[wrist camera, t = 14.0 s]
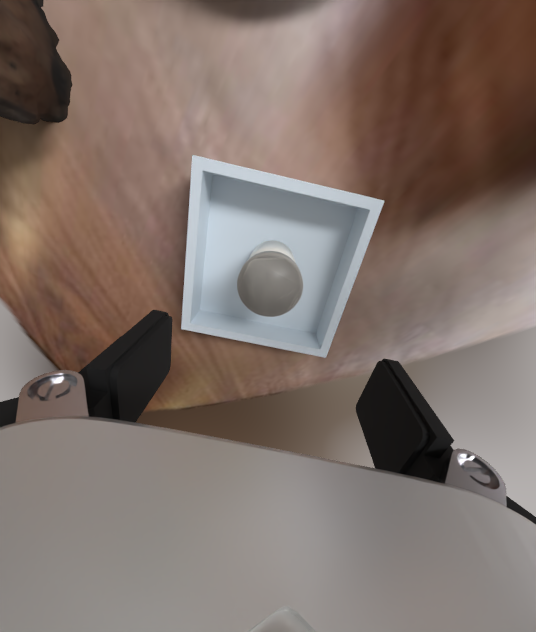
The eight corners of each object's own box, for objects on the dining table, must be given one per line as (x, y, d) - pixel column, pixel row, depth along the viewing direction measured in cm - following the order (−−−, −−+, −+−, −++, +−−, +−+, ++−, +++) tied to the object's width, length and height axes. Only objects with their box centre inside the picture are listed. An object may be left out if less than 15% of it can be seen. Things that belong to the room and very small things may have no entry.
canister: (301, 244, 29) (311, 261, 20) (289, 291, 31) (293, 322, 23) (252, 234, 28) (242, 246, 20) (244, 281, 31) (232, 309, 22)
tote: (366, 201, 27) (384, 200, 23) (319, 337, 35) (325, 357, 30) (207, 163, 26) (192, 154, 22) (194, 312, 34) (181, 328, 29)
